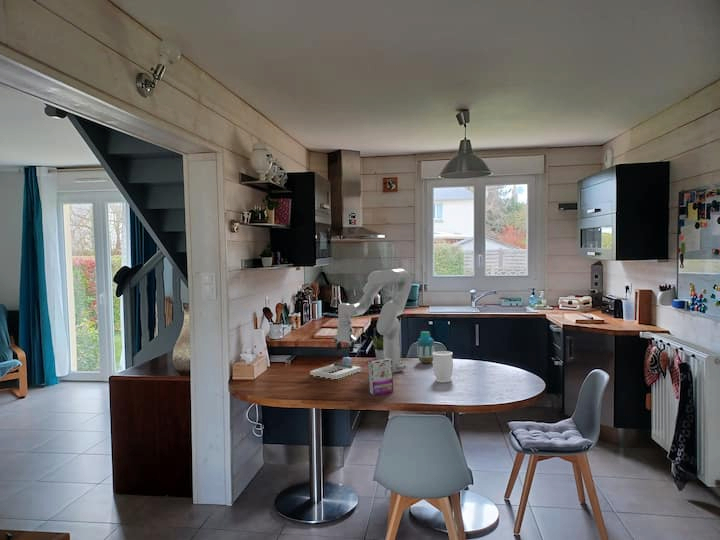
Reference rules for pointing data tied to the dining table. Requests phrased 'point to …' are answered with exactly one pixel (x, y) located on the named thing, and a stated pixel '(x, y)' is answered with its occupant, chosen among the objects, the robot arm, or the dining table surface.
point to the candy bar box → (380, 376)
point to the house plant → (379, 348)
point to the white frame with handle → (336, 375)
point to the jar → (443, 366)
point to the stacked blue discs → (347, 360)
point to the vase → (425, 347)
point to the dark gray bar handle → (343, 365)
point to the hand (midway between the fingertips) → (345, 351)
